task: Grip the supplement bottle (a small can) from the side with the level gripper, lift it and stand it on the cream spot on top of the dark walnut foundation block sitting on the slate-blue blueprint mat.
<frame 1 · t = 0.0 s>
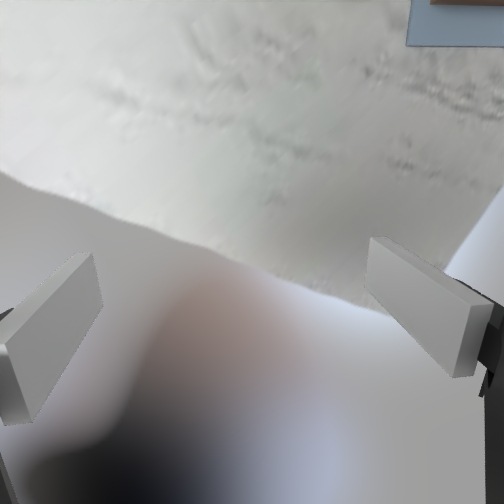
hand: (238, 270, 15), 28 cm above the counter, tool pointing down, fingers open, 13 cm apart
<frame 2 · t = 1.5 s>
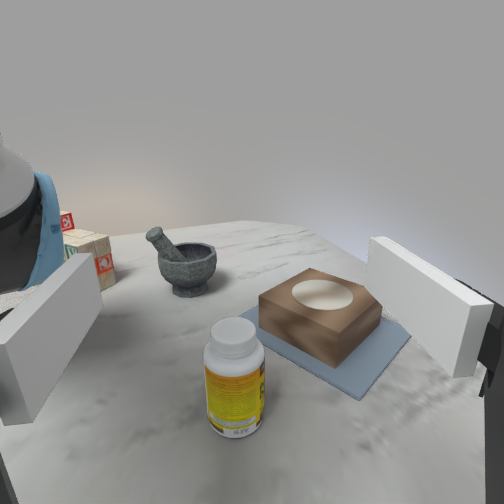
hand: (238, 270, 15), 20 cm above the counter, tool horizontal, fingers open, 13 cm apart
mortar and pestle: (186, 290, 56), on the counter
foundation block: (319, 325, 45), resting on blueprint mat
stack of blocks: (65, 279, 61), on the counter
blueprint mat: (319, 328, 45), on the counter
supplement bottle: (236, 417, 32), on the counter
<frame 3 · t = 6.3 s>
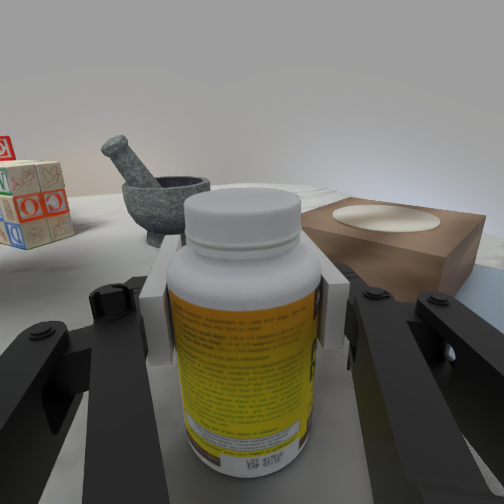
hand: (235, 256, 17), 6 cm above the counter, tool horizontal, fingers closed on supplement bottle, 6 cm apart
mortar and pestle: (167, 241, 39), on the counter
foundation block: (375, 274, 28), resting on blueprint mat
stack of blocks: (5, 233, 44), on the counter
blueprint mat: (375, 278, 28), on the counter
supplement bottle: (248, 425, 15), on the counter, touching gripper
when the fingers open (13 cm above the counter, at t = 10.7 s): supplement bottle drops 1 cm, resting on foundation block.
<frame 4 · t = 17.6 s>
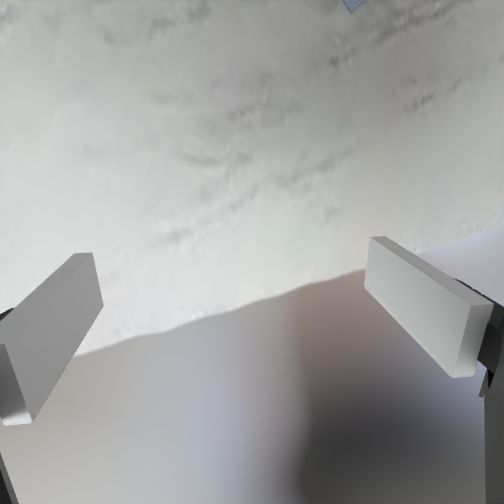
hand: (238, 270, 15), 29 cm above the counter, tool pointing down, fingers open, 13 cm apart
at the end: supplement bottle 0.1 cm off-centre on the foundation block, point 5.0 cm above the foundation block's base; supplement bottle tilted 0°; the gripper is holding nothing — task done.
